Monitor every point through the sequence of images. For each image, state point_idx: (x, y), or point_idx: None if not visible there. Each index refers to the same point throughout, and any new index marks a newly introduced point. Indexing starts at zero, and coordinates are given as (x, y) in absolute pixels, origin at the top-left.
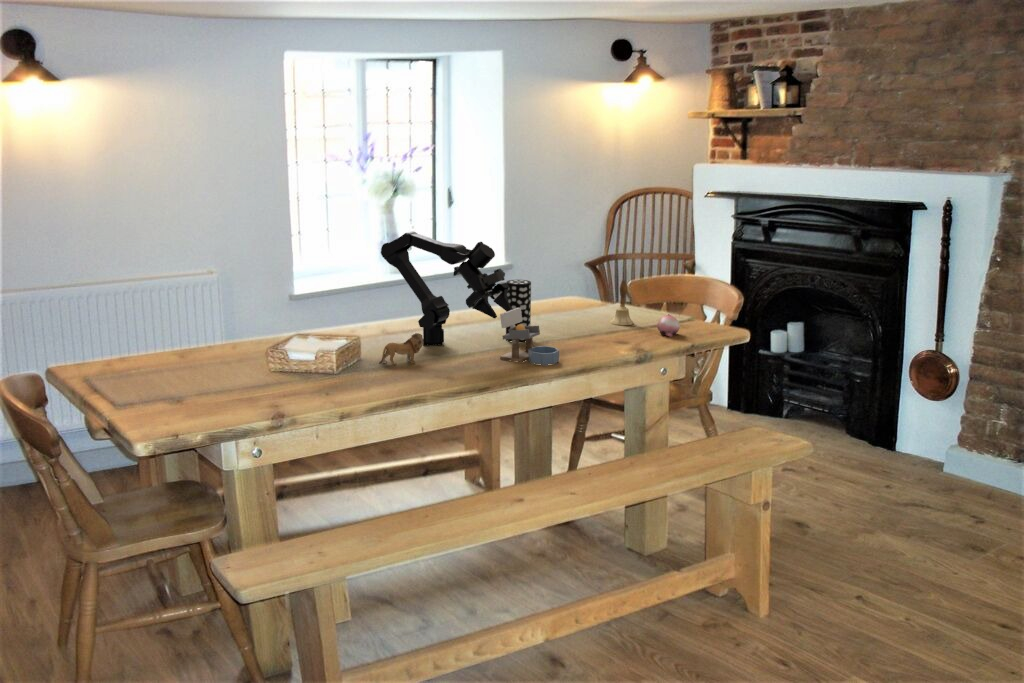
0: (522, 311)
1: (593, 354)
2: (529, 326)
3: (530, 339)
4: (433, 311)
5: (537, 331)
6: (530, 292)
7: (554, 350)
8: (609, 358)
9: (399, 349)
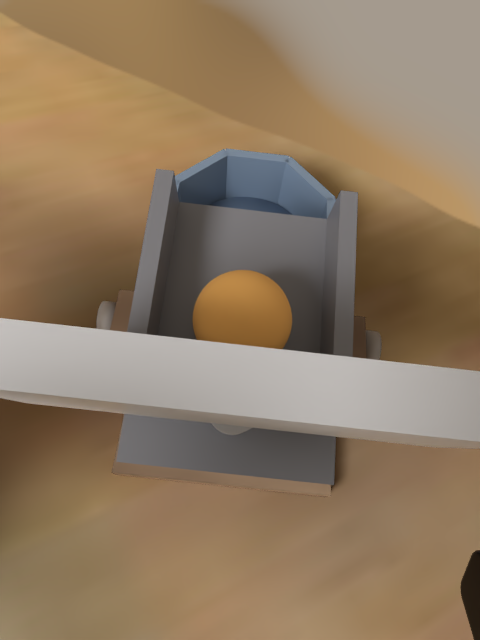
0: None
1: (22, 114)
2: (159, 256)
3: None
4: None
5: (177, 209)
6: None
7: (182, 192)
8: (71, 56)
9: None
